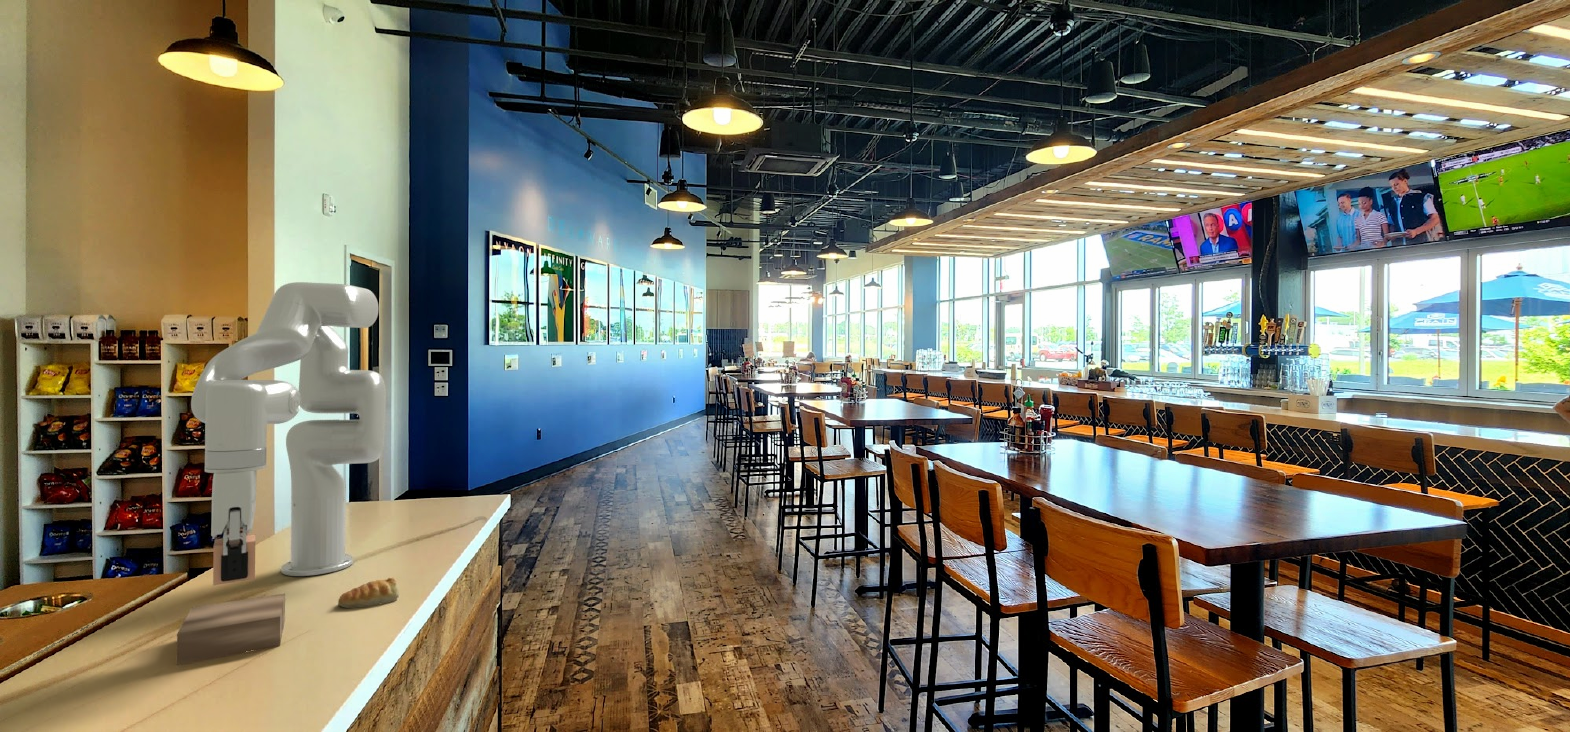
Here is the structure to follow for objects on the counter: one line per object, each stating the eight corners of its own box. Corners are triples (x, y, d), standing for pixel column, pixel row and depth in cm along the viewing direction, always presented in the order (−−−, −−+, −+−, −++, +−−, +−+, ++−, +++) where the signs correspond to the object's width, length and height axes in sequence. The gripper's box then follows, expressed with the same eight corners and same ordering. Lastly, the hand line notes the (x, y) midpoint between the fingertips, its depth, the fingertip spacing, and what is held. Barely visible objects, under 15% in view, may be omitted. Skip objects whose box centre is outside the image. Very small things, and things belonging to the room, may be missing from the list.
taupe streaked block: (191, 638, 106) (191, 607, 106) (284, 622, 113) (285, 593, 113) (176, 667, 96) (177, 633, 96) (279, 648, 103) (280, 616, 103)
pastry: (342, 614, 117) (342, 592, 117) (334, 604, 122) (334, 583, 122) (401, 601, 123) (401, 581, 123) (392, 592, 128) (392, 572, 128)
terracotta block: (214, 577, 105) (215, 539, 105) (254, 571, 108) (255, 534, 108) (213, 585, 101) (213, 546, 101) (254, 579, 104) (255, 541, 104)
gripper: (207, 456, 109) (206, 566, 109) (201, 469, 95) (199, 594, 95) (265, 452, 113) (264, 558, 113) (267, 465, 100) (265, 584, 100)
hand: (234, 573), depth 104 cm, fingers closed on terracotta block, 4 cm apart
